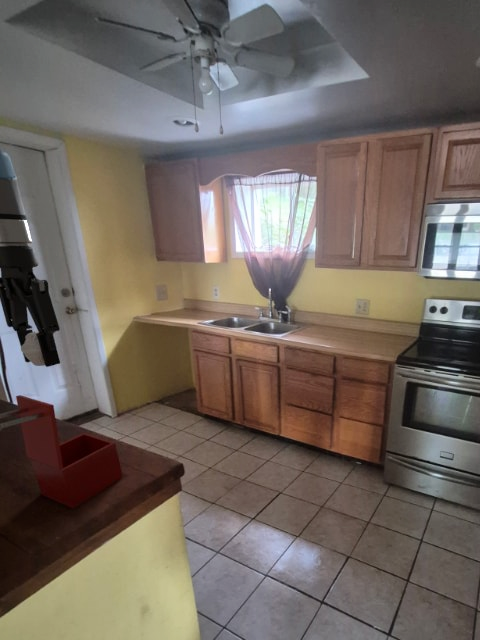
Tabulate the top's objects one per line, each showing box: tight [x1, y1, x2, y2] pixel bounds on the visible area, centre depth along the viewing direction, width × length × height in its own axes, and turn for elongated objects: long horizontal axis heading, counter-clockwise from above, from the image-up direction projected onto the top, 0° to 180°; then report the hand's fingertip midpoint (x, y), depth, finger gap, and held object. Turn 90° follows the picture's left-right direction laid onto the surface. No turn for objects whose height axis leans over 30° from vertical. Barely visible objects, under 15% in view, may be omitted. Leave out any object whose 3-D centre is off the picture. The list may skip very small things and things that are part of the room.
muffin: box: [20, 331, 45, 367], centre depth 78 cm, size 6×6×7 cm
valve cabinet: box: [29, 432, 124, 509], centre depth 82 cm, size 12×10×10 cm
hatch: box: [0, 394, 63, 470], centre depth 69 cm, size 13×10×10 cm
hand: (42, 362), depth 79 cm, fingers closed on muffin, 6 cm apart
